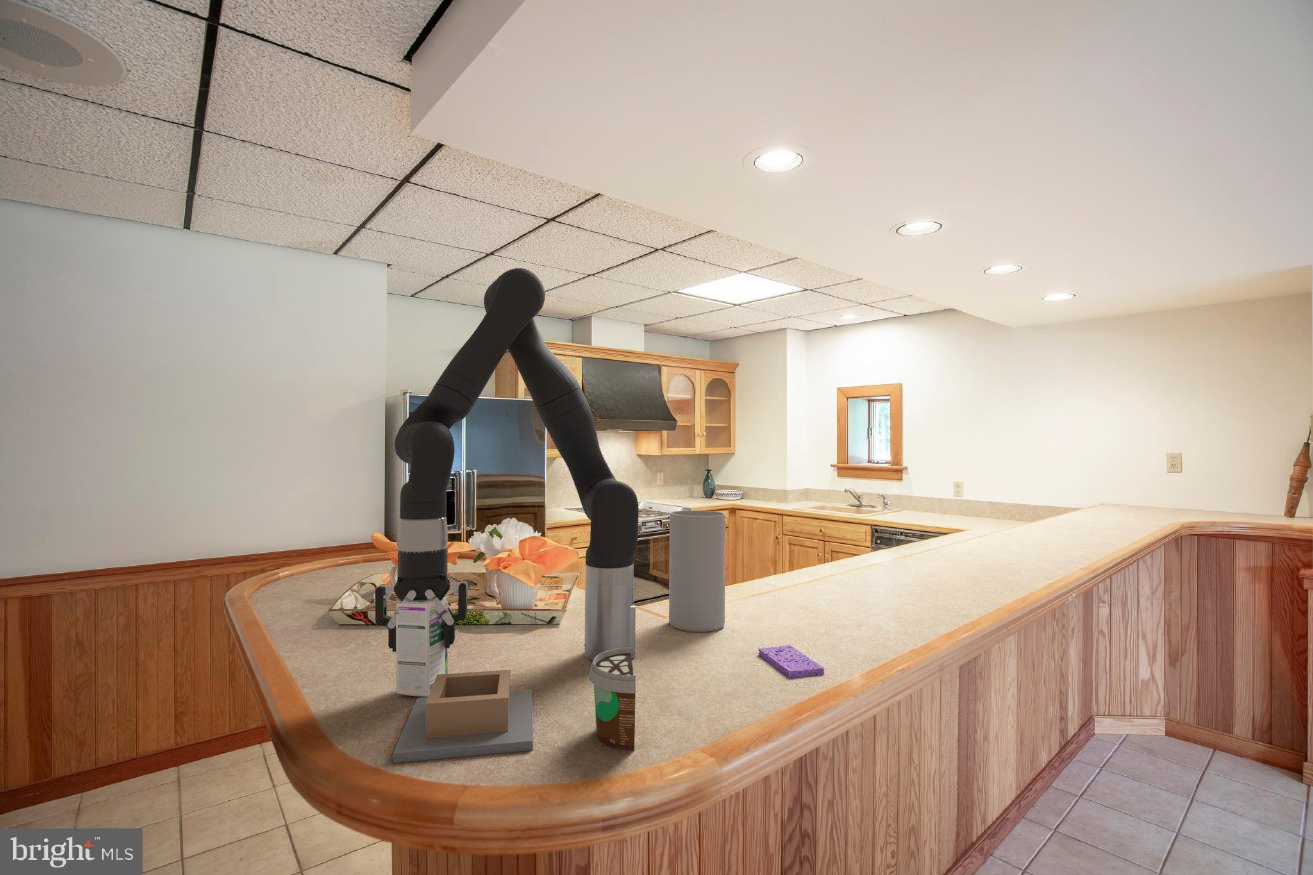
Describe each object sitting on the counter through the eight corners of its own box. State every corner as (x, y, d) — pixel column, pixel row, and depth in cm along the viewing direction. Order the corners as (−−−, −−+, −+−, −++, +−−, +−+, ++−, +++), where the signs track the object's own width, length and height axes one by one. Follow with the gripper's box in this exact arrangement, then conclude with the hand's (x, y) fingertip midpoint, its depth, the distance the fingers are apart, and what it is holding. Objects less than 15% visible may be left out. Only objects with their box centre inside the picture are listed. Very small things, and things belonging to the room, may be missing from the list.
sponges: (790, 654, 118) (790, 644, 118) (825, 677, 106) (825, 666, 106) (757, 657, 116) (757, 647, 116) (789, 681, 104) (789, 670, 104)
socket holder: (531, 697, 95) (532, 660, 95) (532, 750, 78) (533, 705, 78) (417, 705, 91) (417, 668, 92) (392, 763, 75) (393, 716, 75)
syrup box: (428, 697, 93) (429, 603, 94) (394, 694, 94) (395, 601, 95) (448, 683, 99) (449, 594, 99) (415, 680, 100) (416, 592, 100)
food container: (589, 715, 89) (590, 646, 89) (630, 714, 89) (631, 646, 90) (586, 757, 77) (587, 678, 77) (635, 756, 77) (635, 677, 77)
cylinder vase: (665, 617, 141) (666, 510, 141) (718, 616, 142) (719, 510, 143) (672, 634, 128) (674, 516, 129) (730, 632, 130) (731, 516, 130)
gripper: (471, 541, 102) (470, 638, 102) (380, 543, 99) (379, 644, 99) (467, 548, 95) (466, 653, 95) (369, 551, 92) (367, 659, 92)
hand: (422, 648), depth 97 cm, fingers closed on syrup box, 7 cm apart
